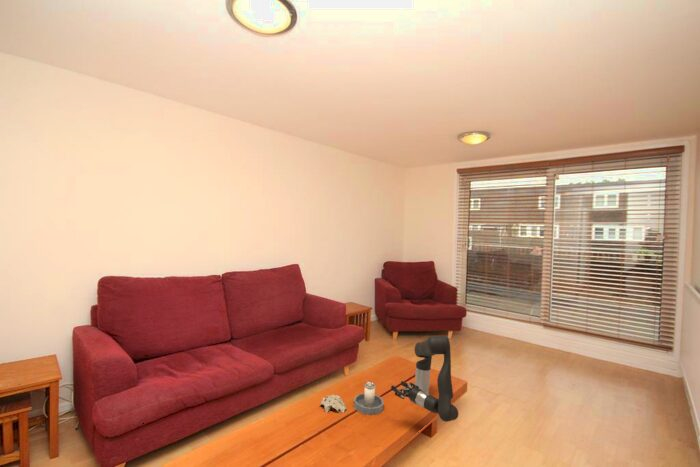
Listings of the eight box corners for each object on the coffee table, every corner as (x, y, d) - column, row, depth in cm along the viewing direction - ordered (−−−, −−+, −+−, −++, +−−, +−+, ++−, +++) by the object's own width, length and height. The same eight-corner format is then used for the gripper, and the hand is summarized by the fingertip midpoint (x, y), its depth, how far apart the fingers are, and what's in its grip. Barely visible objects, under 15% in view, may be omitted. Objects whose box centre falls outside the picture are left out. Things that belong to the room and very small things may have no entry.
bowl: (364, 395, 206) (365, 390, 206) (388, 406, 195) (388, 400, 195) (348, 406, 192) (348, 400, 192) (372, 418, 182) (372, 412, 182)
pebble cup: (367, 401, 198) (368, 378, 198) (376, 405, 194) (377, 381, 194) (361, 405, 193) (363, 382, 193) (370, 409, 189) (371, 385, 189)
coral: (347, 410, 188) (348, 401, 188) (328, 416, 182) (329, 407, 182) (334, 398, 201) (335, 389, 201) (316, 403, 195) (317, 394, 195)
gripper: (428, 386, 177) (405, 374, 189) (412, 395, 167) (388, 382, 179) (427, 400, 177) (404, 387, 189) (411, 409, 168) (387, 395, 180)
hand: (396, 385), depth 184 cm, fingers open, 8 cm apart
